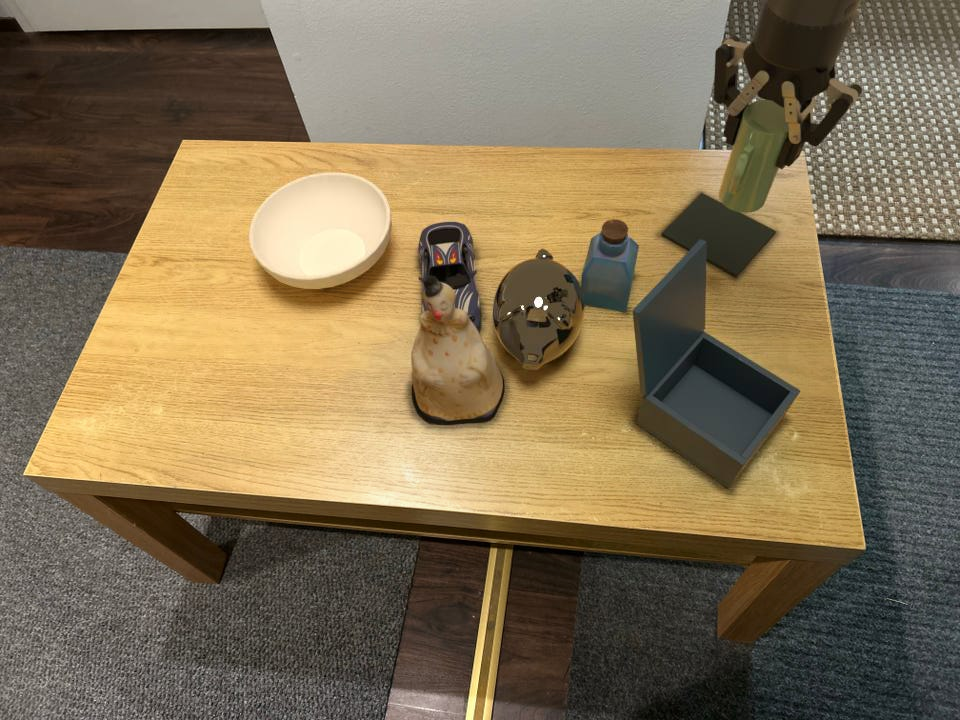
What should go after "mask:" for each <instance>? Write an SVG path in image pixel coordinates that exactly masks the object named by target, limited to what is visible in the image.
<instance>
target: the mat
mask: <svg viewBox="0 0 960 720" xmlns="http://www.w3.org/2000/svg"><path fill="white" fill-rule="evenodd" d="M776 233H777V230H774V229H772V228H771V227H769V226H767V225H765V224H763V223H761V222H760V221H758V220H755V219H753V218H751V217H750V216H748V215H746V214H745V213H740V212H736V211H733V210H731V209H729V208H727V207H726V206H725V205H723V203H722V202H721V201H719V200H717V199H715V198H713V197H711V196H709V195H707V194H705V193H704V192H700V193H699V195H697V197H695V198H694V200H692V201H691V202H690V204H689V205H688V206H687V207H686V208H685V209H684V210H683V211H682V212H681V213H680V214H679V215H678V216H677V217H675V219H674V220H672V222H671V223H670V224H668V226H667V227H666V228H665V229H664V230H663V231H662V232H661V234H660V235H661V236H662V237H664V238H666V239H667V240H669V241H671V242H672V243H674V244H676V245H678V246H679V247H682V248H683V249H685V250H687V252H688V251H689V250H690V249H691V248H692V247H693V246H694V245H695V244H696V243H697V242H698V241H699V240H700V239H701V240H704V241H706V242H707V257H706V262H708V263H709V264H711V265H713V266H715V267H716V268H719V269H721V270H723V272H726V273H727V274H730V276H733V277H735V278H737V277H738V276H739V275H740V274H741V273H742V272H743V270H744V269H745V268H746V267H747V266H748V265H749V264H750V262H752V261H753V259H754V258H755V257H756V256H757V255H758V253H760V251H761V250H762V249H763V248H764V247H765V246H766V244H767V243H769V242H770V240H772V238H773V237H774V236H775V235H776Z"/></svg>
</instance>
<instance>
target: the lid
mask: <svg viewBox="0 0 960 720" xmlns="http://www.w3.org/2000/svg"><path fill="white" fill-rule="evenodd" d="M706 257H707V242H706V241H704V240H701V239H700V240H699V241H698V242H697V243H696V244H695V245H694V246H693V247H692V248H691V249H690V250H689V251H688V250H687V253H685V254H684V255H683V257H681V258H680V260H679V261H678V262H677V263H676V264H675V265H674V266H673V267H672V268H671V269H670V270H669V271H668V272H667V273H666V274H665V275H664V277H662V278H661V280H660V281H659V282H658V283H656V285H655V286H654V287H652V288H651V290H650V291H649V292H648V293H647V294H646V295H645V297H643V298H642V300H641V301H640V302H639V303H638V304H637V305H636V306H635V307H634V308H633V309H632V320H633V330H634V331H633V332H634V340H635V341H634V342H635V351H636V361H637V372H638V381H639V382H638V383H639V392H640V393H641V394H643V396H644V395H647V394H648V393H649V392H650V391H651V389H652V388H653V387H654V386H655V385H656V384H657V383H658V382H659V380H660V379H661V378H662V377H663V376H664V375H665V374H666V373H667V371H668V370H669V369H670V368H671V367H672V366H673V365H674V363H675V362H676V361H677V360H678V359H679V358H680V357H681V356H682V354H683V353H684V352H685V351H686V350H687V349H688V348H689V346H690V345H691V344H692V343H693V342H694V341H695V340H696V339H697V337H698V336H699V335H700V334H701V333H702V332H703V331H704V332H705V330H706V310H707V309H706V305H707V304H706V303H707V302H706V301H707V300H706V299H707V261H706Z"/></svg>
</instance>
